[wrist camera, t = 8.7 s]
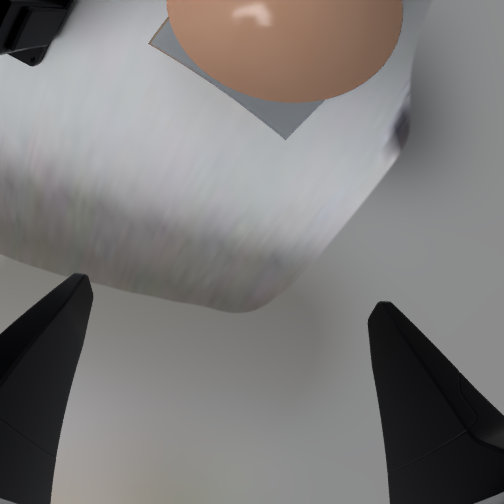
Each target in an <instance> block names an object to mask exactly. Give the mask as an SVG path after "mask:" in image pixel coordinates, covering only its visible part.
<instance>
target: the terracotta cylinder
mask: <svg viewBox="0 0 504 504" xmlns="http://www.w3.org/2000/svg"><path fill="white" fill-rule="evenodd" d="M167 11H168V16H169V21H170V24H171V26H172V29H173V32H174V34H175V36H176V38H177V40H178V42H179V43H180V45H181V47H182V48H183V49H184V51H185V52H186V53H187V55H188V56H189V57H190V58H191V59H192V60H193V62H194V63H195V64H196V65H197V66H198V67H199V68H201V69H202V70H203V71H204V72H206V73H207V74H208V75H209V76H210V77H212V78H214V79H215V80H217V81H218V82H220V83H221V84H223V85H225V86H227V87H229V88H231V89H233V90H235V91H237V92H240V93H243V94H246V95H249V96H251V97H255V98H259V99H263V100H267V101H275V102H282V103H303V102H314V101H319V100H325V99H329V98H332V97H335V96H338V95H341V94H344V93H346V92H348V91H350V90H353V89H355V88H356V87H358V86H359V85H361V84H363V83H364V82H366V81H367V80H368V79H370V78H371V77H372V76H373V75H375V74H376V73H377V72H378V70H379V69H380V68H381V67H382V66H383V65H384V64H385V63H386V61H387V60H388V58H389V57H390V55H391V54H392V52H393V50H394V48H395V46H396V44H397V41H398V38H399V35H400V32H401V26H402V20H403V6H402V0H167Z"/></svg>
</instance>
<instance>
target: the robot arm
mask: <svg viewBox="0 0 504 504" xmlns="http://www.w3.org/2000/svg"><path fill="white" fill-rule="evenodd" d="M72 2H73V0H0V55H3V54H9V55H11V56H12V57H14V58H16V59H18V60H20V61H22V62H24V63H26V64H28V65H29V66H36V65H38V64H39V63H40V62H41V60H42V57H43V55H44V53H45V51H46V49H47V47H48V45H49V44H50V43H51V41H52V39H53V37H54V35H55V33H56V31H57V30H58V28H59V26H60V24H61V22H62V21H63V19H64V17H65V15H66V12H67V10H68V8H69V7H70V5H71V3H72ZM34 57H36V60H35V62H34ZM92 302H93V292H92V288H91V285H90V281H89V278H88V276H87V275H86V274H81V273H74V274H73V275H71V276H70V277H69V278H67V279H66V280H65V281H63V283H61V284H60V285H58V286H57V287H56V288H55V289H53V290H52V291H51V292H49V293H48V294H47V295H46V296H44V297H43V298H42V299H41V300H40V301H38V302H37V303H36V304H35V305H33V306H32V307H31V308H30V309H29V310H27V311H26V312H25V313H24V314H23V315H22V316H20V317H19V318H18V319H17V320H16V321H15V322H13V323H12V324H11V325H10V326H9V327H8V328H7V329H5V330H4V331H3V332H2V333H1V334H0V504H50V502H51V492H52V484H53V483H52V482H53V475H54V469H55V462H56V455H57V449H58V444H59V438H60V433H61V428H62V423H63V419H64V414H65V410H66V405H67V401H68V397H69V393H70V389H71V385H72V382H73V377H74V374H75V371H76V367H77V364H78V360H79V357H80V353H81V350H82V347H83V343H84V338H85V334H86V329H87V324H88V320H89V315H90V311H91V307H92ZM368 332H369V341H370V352H371V361H372V369H373V374H374V380H375V385H376V391H377V397H378V403H379V409H380V416H381V423H382V430H383V437H384V445H385V453H386V462H387V472H388V485H389V498H390V504H504V415H502V413H500V412H499V411H498V410H497V409H496V408H495V407H494V406H493V405H492V404H491V403H490V402H489V401H488V400H487V399H486V398H485V397H484V396H483V395H482V394H481V393H479V391H478V390H476V389H475V388H474V386H473V385H472V384H471V383H470V382H469V381H468V380H467V379H466V378H465V377H464V376H463V375H462V374H461V373H460V372H459V371H458V369H457V368H456V367H455V366H454V365H453V364H452V363H451V362H450V361H449V360H448V359H447V358H446V357H445V356H444V355H443V354H442V353H441V351H440V350H439V349H438V348H437V347H436V346H435V345H434V344H433V343H432V342H431V341H430V340H429V339H428V338H427V337H426V336H425V335H424V334H423V333H422V332H421V331H420V330H419V329H418V328H417V327H416V326H415V325H414V324H413V323H412V322H411V321H410V320H409V319H408V318H407V317H406V316H405V315H404V314H403V313H402V312H401V311H400V310H399V309H398V308H397V307H395V305H393V304H392V303H391V302H388V301H387V302H386V301H380V302H378V303H377V305H376V306H375V308H374V310H373V311H372V313H371V315H370V317H369V319H368Z"/></svg>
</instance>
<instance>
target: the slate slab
mask: <svg viewBox="0 0 504 504" xmlns="http://www.w3.org/2000/svg"><path fill="white" fill-rule="evenodd" d="M151 44H152V45H154V46H156V47H157V48H159V49H161V50H162V51H164V52H165V53H167V54H169V55H170V56H172V57H173V58H175V59H176V60H178V61H179V62H181V63H183V64H184V65H186V66H187V67H189V68H190V69H192V70H193V71H195V72H196V73H198V74H199V75H200V76H202V77H203V78H205V79H206V80H208V81H209V82H211V83H212V84H213V85H215V86H216V87H218V88H219V89H220V90H222V91H223V92H225V93H226V94H227V95H229V96H230V97H231V98H233V99H234V100H235V101H237V102H238V103H240V104H241V105H242V106H243V107H245V108H246V109H247V110H249V111H250V112H251V113H253V114H254V115H255V116H256V117H258V118H259V119H260V120H262V121H263V122H264V123H265V124H267V125H268V126H269V127H270V128H272V129H273V130H274V131H275V132H277V133H278V134H279V135H280V136H281V137H283V138H284V139H285V140H286V139H287V138H288V137H289V136H290V135H291V134H292V133H293V132H294V131H295V130H296V129H297V128H298V127H299V126H300V125H301V124H302V123H303V122H304V120H305V119H306V118H307V117H308V116H309V115H310V114H311V113H312V112H313V111H314V110H315V109H316V108H317V107H318V106H319V105H320V104H321V103H322V102H323V101H324V100H319V101H314V102H303V103H282V102H275V101H267V100H263V99H259V98H255V97H251V96H249V95H246V94H243V93H240V92H237V91H235V90H233V89H231V88H229V87H227V86H225V85H223V84H221V83H220V82H218V81H217V80H215V79H214V78H212V77H210V76H209V75H208V74H207V73H206V72H204V71H203V70H202V69H201V68H199V67H198V66H197V65H196V64H195V63H194V62H193V60H192V59H191V58H190V57H189V56H188V55H187V53H186V52H185V51H184V49H183V48H182V47H181V45H180V43H179V42H178V40H177V38H176V36H175V34H174V32H173V29H172V26H171V24H170V21H169V20H168V21H167V22H166V24H165V25H164V26H163V27H162V29H161V30H160V31H159V32H158V34H157V35H156V36H155V38H154V39H153V40H152V42H151Z"/></svg>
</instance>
